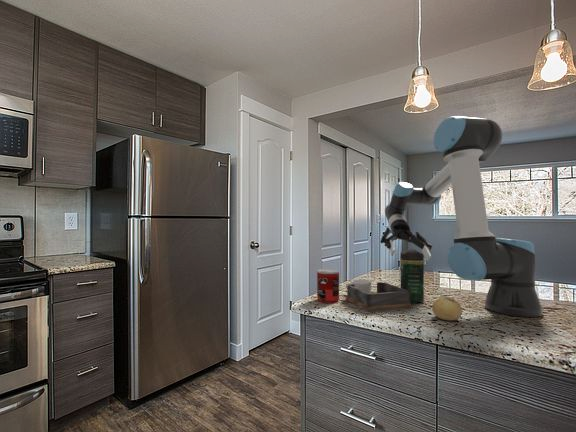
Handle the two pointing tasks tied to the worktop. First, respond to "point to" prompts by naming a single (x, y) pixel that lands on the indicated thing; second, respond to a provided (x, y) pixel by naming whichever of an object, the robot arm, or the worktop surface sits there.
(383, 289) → the tray
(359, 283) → the teacup
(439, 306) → the onion
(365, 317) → the worktop surface
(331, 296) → the canned food
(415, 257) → the coffee jar
